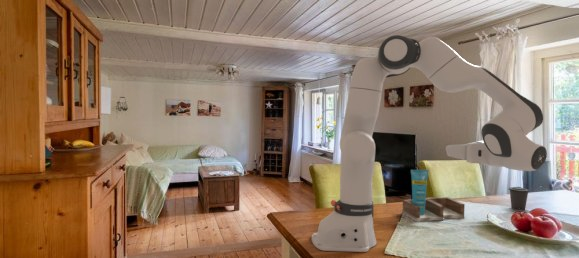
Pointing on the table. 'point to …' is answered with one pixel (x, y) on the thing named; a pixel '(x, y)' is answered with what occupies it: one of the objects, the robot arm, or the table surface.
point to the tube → (419, 188)
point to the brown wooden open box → (430, 214)
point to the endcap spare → (449, 207)
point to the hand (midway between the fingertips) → (457, 148)
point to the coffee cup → (518, 197)
